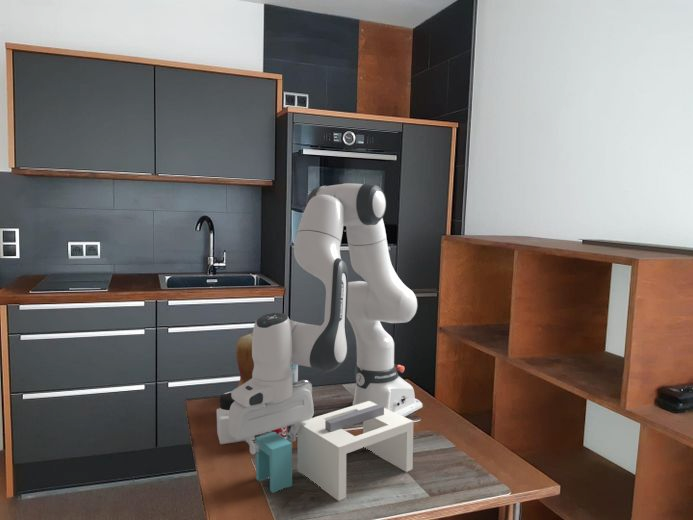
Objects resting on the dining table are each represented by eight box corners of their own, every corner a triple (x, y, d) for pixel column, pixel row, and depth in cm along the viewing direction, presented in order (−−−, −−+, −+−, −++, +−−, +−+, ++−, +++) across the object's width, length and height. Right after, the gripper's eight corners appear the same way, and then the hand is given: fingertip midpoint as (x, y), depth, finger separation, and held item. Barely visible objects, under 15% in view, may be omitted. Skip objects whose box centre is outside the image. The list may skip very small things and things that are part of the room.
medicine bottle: (247, 440, 145) (246, 397, 143) (220, 444, 142) (219, 400, 141) (243, 429, 151) (242, 388, 150) (217, 433, 149) (215, 391, 148)
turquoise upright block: (275, 472, 128) (274, 431, 127) (292, 485, 123) (291, 443, 121) (256, 479, 125) (255, 437, 124) (272, 493, 120) (272, 449, 118)
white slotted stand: (368, 445, 142) (369, 393, 141) (412, 469, 130) (413, 412, 128) (297, 471, 129) (297, 414, 127) (338, 501, 117) (338, 438, 115)
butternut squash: (236, 408, 166) (234, 328, 163) (280, 405, 169) (279, 326, 166) (237, 427, 153) (236, 340, 150) (285, 423, 156) (285, 337, 153)
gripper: (303, 374, 130) (304, 430, 132) (224, 393, 118) (225, 454, 119) (319, 381, 125) (319, 439, 127) (237, 401, 113) (239, 465, 114)
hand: (273, 446), depth 123 cm, fingers open, 8 cm apart
